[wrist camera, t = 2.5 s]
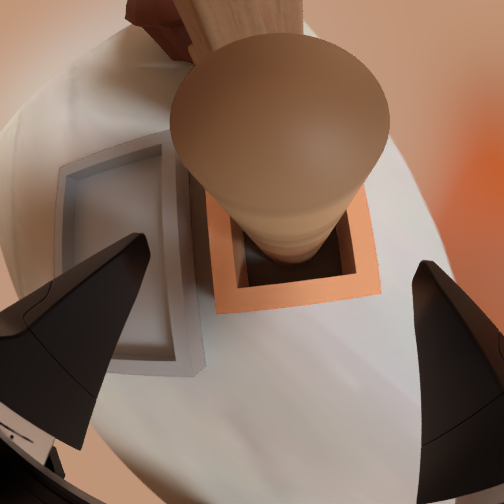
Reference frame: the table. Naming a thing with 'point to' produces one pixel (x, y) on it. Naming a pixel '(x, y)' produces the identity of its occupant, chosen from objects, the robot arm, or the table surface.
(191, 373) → the tray
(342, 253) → the orange square ring
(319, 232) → the dowel pin
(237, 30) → the wooden block
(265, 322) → the table surface
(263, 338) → the table surface
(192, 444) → the table surface
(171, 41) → the muffin
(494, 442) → the robot arm
